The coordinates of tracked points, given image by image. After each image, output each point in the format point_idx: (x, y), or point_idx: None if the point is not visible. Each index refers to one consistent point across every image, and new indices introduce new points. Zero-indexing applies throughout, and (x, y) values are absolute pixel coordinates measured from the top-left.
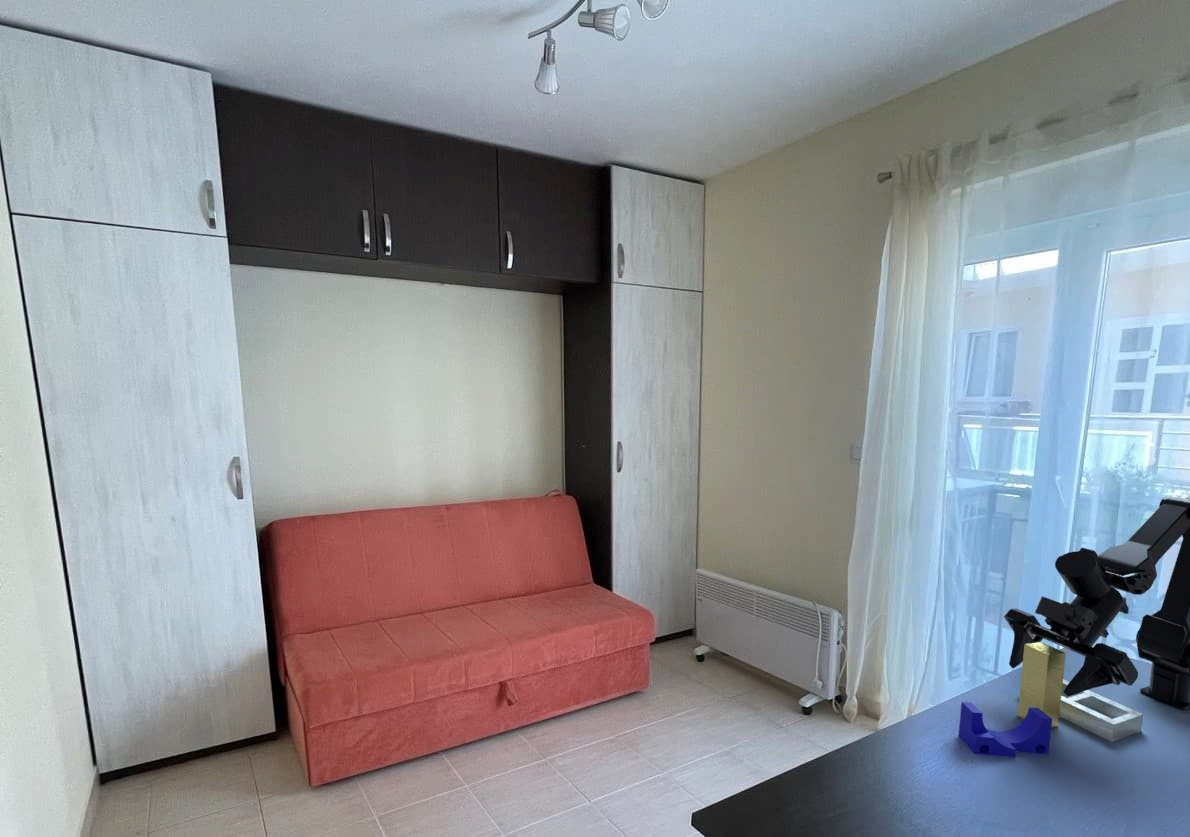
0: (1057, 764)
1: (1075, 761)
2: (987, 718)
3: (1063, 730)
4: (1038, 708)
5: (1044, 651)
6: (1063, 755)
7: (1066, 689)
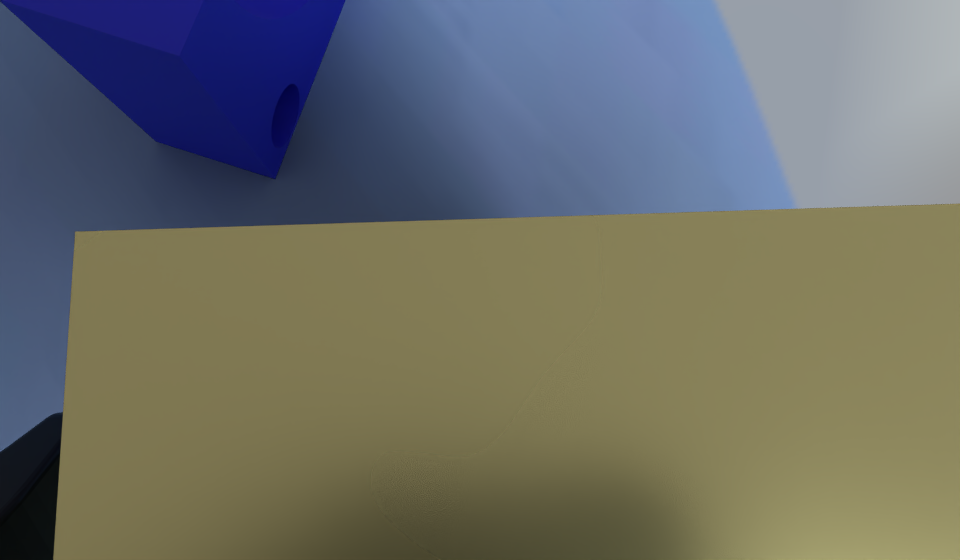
0: (68, 100)
1: (53, 249)
2: (562, 111)
3: None
4: (171, 44)
5: (351, 386)
6: None
7: (45, 432)
